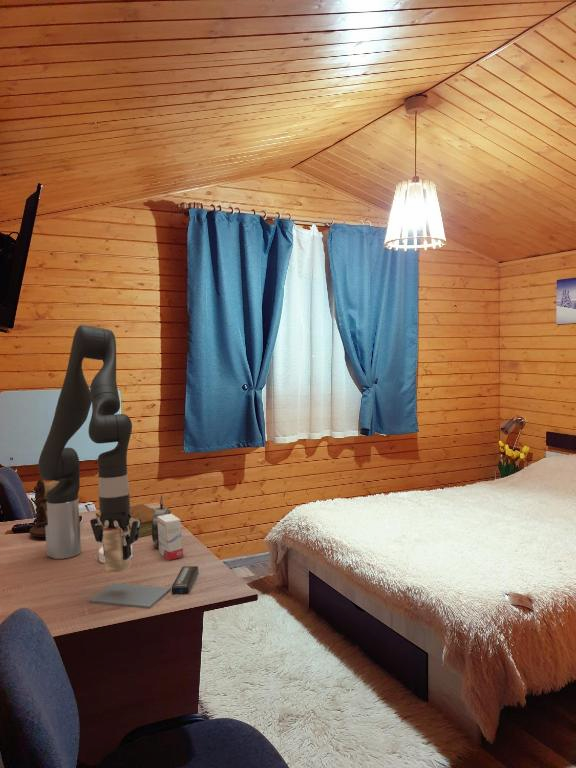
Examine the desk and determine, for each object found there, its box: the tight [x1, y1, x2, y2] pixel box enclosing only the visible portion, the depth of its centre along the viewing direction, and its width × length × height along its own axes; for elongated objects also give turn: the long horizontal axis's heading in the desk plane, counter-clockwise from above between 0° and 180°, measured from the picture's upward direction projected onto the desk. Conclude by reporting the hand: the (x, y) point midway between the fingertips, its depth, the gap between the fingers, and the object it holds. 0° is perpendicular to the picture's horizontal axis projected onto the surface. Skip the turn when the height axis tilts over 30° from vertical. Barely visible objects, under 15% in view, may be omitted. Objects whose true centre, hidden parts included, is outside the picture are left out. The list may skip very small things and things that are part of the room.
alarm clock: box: [151, 494, 172, 550], centre depth 187 cm, size 11×5×16 cm, turn 2°
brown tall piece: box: [28, 479, 60, 541], centre depth 202 cm, size 15×15×20 cm
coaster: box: [98, 544, 134, 564], centre depth 176 cm, size 10×10×4 cm
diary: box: [95, 503, 155, 539], centre depth 206 cm, size 23×19×6 cm
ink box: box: [157, 513, 184, 561], centre depth 177 cm, size 9×5×12 cm, turn 31°
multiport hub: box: [171, 565, 199, 595], centre depth 155 cm, size 4×14×2 cm, turn 179°
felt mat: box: [88, 582, 172, 609], centre depth 148 cm, size 17×11×1 cm, turn 74°
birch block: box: [103, 528, 132, 574], centre depth 148 cm, size 4×4×11 cm
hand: (117, 557), depth 148 cm, fingers closed on birch block, 4 cm apart
